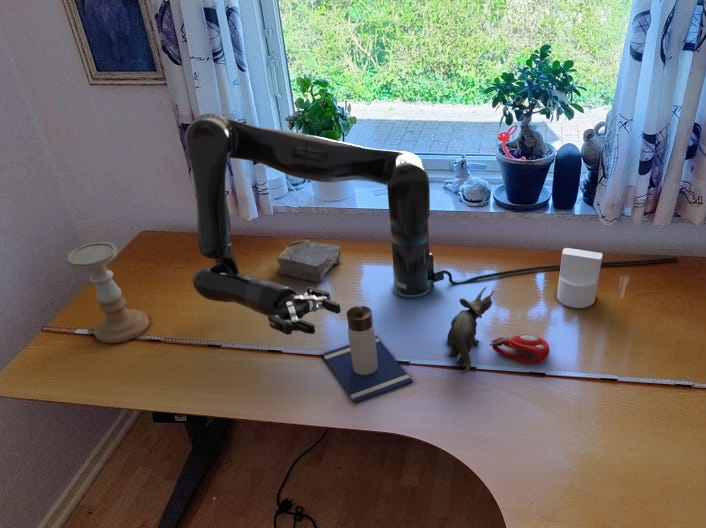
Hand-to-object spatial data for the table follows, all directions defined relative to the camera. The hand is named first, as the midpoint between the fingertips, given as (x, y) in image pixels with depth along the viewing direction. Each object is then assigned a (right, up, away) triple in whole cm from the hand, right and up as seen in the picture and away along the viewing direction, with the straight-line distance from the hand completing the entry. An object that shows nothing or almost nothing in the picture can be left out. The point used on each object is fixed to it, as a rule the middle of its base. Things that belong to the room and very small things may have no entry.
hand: (326, 319), depth 131 cm
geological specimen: (-10, +16, +36) cm, 40 cm away
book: (+8, -10, +2) cm, 13 cm away
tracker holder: (+41, -7, +5) cm, 42 cm away
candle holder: (-51, -1, +17) cm, 54 cm away
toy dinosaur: (+29, -7, +5) cm, 30 cm away
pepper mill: (+8, -10, +2) cm, 13 cm away
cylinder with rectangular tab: (+57, +6, +20) cm, 61 cm away
